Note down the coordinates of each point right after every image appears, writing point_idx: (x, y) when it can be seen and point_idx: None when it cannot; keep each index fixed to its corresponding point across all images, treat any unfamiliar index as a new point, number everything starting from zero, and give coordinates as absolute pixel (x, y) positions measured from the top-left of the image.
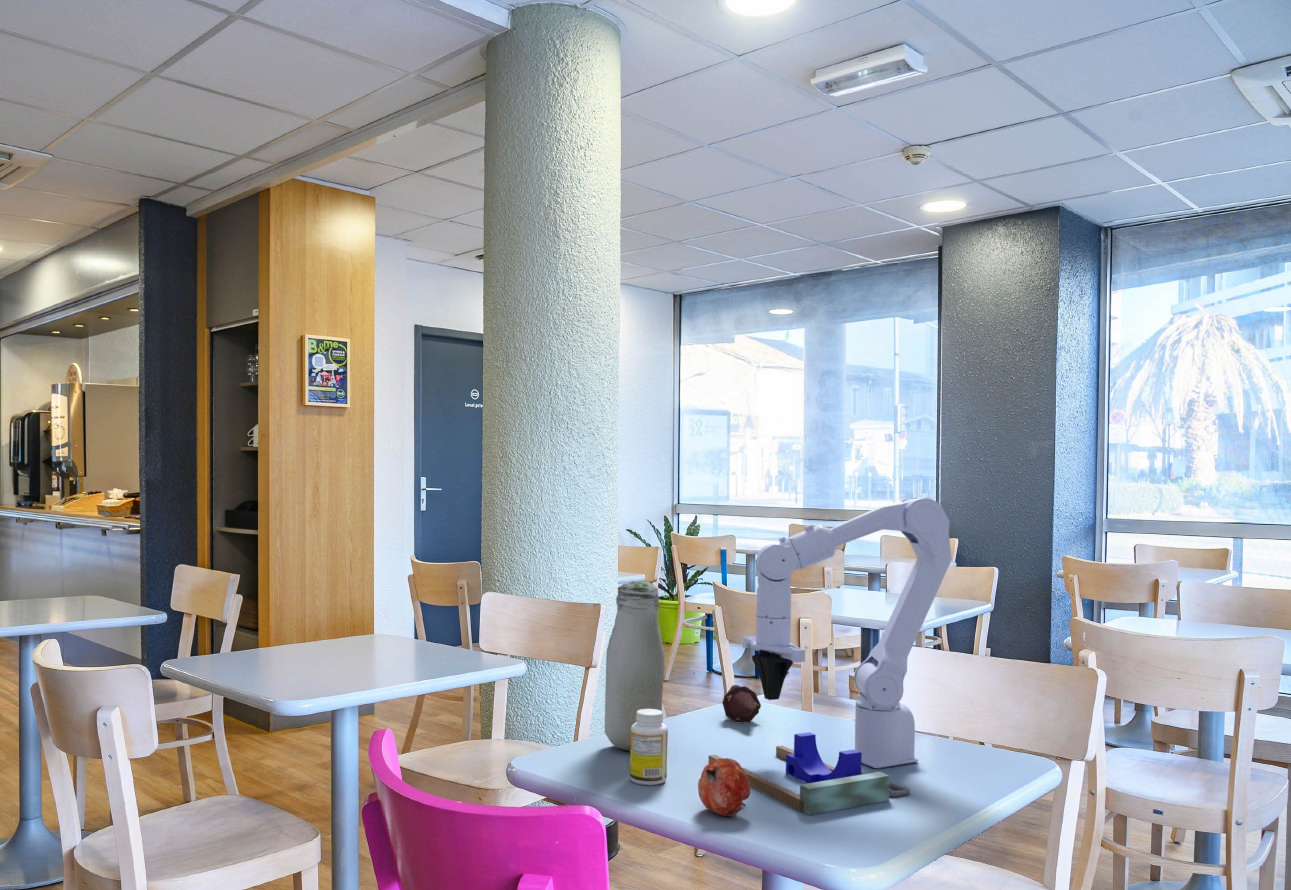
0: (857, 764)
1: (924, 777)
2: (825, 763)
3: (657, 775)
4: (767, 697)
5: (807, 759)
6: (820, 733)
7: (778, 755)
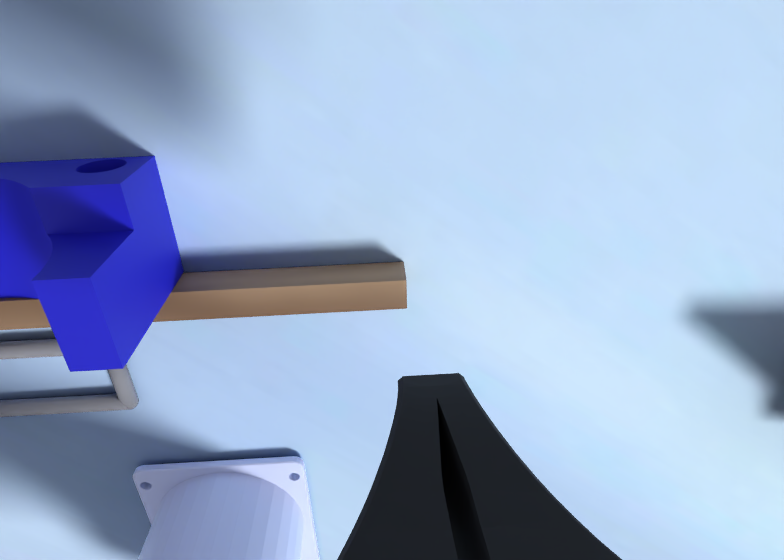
0: None
1: (37, 528)
2: None
3: None
4: (419, 381)
5: (49, 243)
6: None
7: (385, 263)
